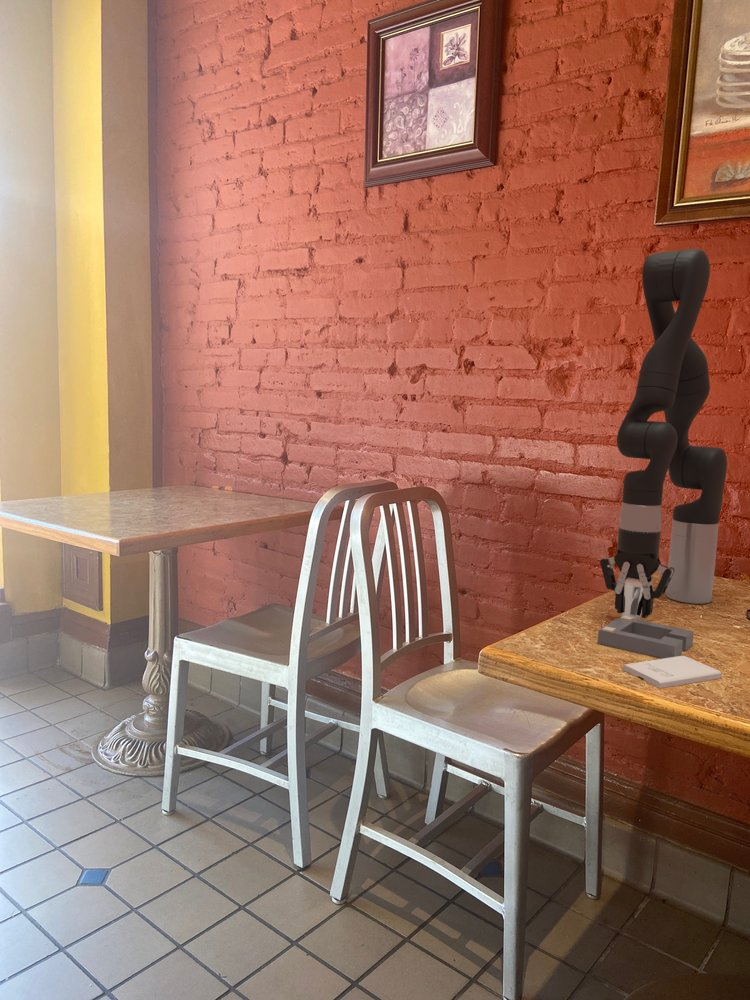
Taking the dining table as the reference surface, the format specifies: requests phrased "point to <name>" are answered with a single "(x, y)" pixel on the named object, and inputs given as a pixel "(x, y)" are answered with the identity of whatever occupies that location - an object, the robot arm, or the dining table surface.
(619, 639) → the frame
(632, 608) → the milkshake
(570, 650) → the dining table surface
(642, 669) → the external hard drive
